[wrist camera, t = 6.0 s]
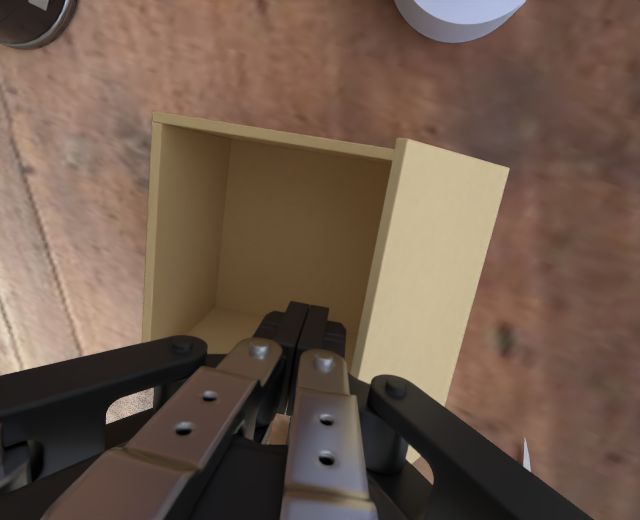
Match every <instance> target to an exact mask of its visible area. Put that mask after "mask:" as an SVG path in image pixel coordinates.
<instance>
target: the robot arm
mask: <svg viewBox="0 0 640 520" xmlns="http://www.w3.org/2000/svg"><path fill="white" fill-rule="evenodd" d="M76 4H77V0H0V44H2V45H5V46H8V47H11V48H16V49H35V48H39V47H42V46H44V45H47V44H48V43H50V42H52V41H53V40H55V39H56V38H57V37H58V36H59V35H60V34H61V33H62V32H63V31H64V30H65V28H66V27H67V25H68V24H69V22H70V20H71V18H72V16H73V14H74V11H75V8H76ZM309 305H310V304H306V303H300V302H295V301H290V303H289V305H288V307H287V309H286V311H285V312H280V311H275V310H274V311H272V312H270V313H268V314H266V315H265V317H264V318H263V320H262V322H261V323H260V325H259V327H258V328H257V330H256V331H255V333H254V335H253V336H252V338H246V339H243V340H241V341H239V342H238V343H237V344H236V345H235V346H234V348H233V349H232V350H231V351H230V352H229V353H228V354H207V350H208V345H207V343H206V342H205V341H204V340H202V339H200V338H198V337H194V336H189V335H176V336H170V337H166V338H162V339H157V340H153V341H149V342H144V343H140V344H136V345H131V346H127V347H123V348H118V349H114V350H110V351H105V352H101V353H97V354H92V355H88V356H84V357H79V358H75V359H71V360H66V361H62V362H58V363H53V364H49V365H45V366H40V367H36V368H32V369H27V370H23V371H19V372H14V373H10V374H6V375H1V376H0V520H594V519H592V518H591V517H590V516H588V515H587V514H586V513H584V512H583V511H582V510H580V509H579V508H578V507H576V506H575V505H574V504H572V503H571V502H570V501H568V500H567V499H566V498H564V497H563V496H562V495H560V494H559V493H558V492H556V491H555V490H554V489H552V488H551V487H550V486H548V485H547V484H546V483H544V482H543V481H542V480H540V479H539V478H538V477H537V476H535V475H534V474H533V473H531V472H530V471H529V470H527V469H526V468H525V467H523V466H522V465H521V464H519V463H518V462H517V461H515V460H514V459H513V458H511V457H510V456H509V455H507V454H506V453H505V452H503V451H502V450H501V449H499V448H498V447H497V446H495V445H494V444H493V443H491V442H490V441H489V440H487V439H486V438H485V437H483V436H482V435H481V434H480V433H478V432H477V431H476V430H474V429H473V428H472V427H470V426H469V425H468V424H466V423H465V422H464V421H462V420H461V419H460V418H458V417H457V416H456V415H454V414H453V413H452V412H450V411H449V410H448V409H446V408H445V407H444V406H442V405H441V404H440V403H438V402H437V401H436V400H434V399H433V398H432V397H430V396H429V395H428V394H426V393H425V392H424V391H423V390H421V389H420V388H419V387H417V386H416V385H415V384H413V383H412V382H410V381H408V380H407V379H404V378H402V377H399V376H395V375H388V374H382V375H378V376H375V377H374V378H373V379H372V380H371V384H369V383H366V382H363V381H361V380H359V379H357V378H355V377H354V376H352V375H351V374H350V373H349V372H348V371H347V363H346V361H345V346H346V328H345V327H344V326H343V324H342V323H339V322H334V321H329V320H327V319H328V314H329V308H328V307H322V306H317V305H310V308H309ZM153 387H154V398H153V408H151V409H148V410H145V411H142V412H139V413H137V414H134V415H131V416H128V417H125V418H123V419H120V420H117V421H114V422H112V423H109V424H106V412H107V410H108V408H109V407H110V405H111V404H112V403H113V402H115V401H116V400H118V399H119V398H122V397H125V396H128V395H131V394H134V393H137V392H140V391H143V390H146V389H150V388H153ZM287 403H288V406H287ZM286 407H287V412H286V415H289V416H291V417H290V423H289V429H288V435H287V442H286V445H266V444H265V443H266V441H267V439H268V436H269V434H270V431H271V426H272V421H273V419H274V418H275V415H276V413H279V414H284V413H285V410H286ZM409 445H410V446H411V447H412V448H413V449H415V450H416V451H417V452H418V453H419V454H420V455H421V456H422V457H423V458H424V459H425V460H426V461H427V462H428V464H429V465H430V467H431V469H432V472H433V476H434V483H433V485H432V484H431V483H430V482H429V481H428V480H427V479H426V478H425V477H424V476H423V475H422V474H421V473H420V472H419V471H418V470H417V469H416V468H415V467H414V466H413V465H412V464H410V463H409V462H408V461H407V460H406V455H407V451H408V447H409Z"/></svg>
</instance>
